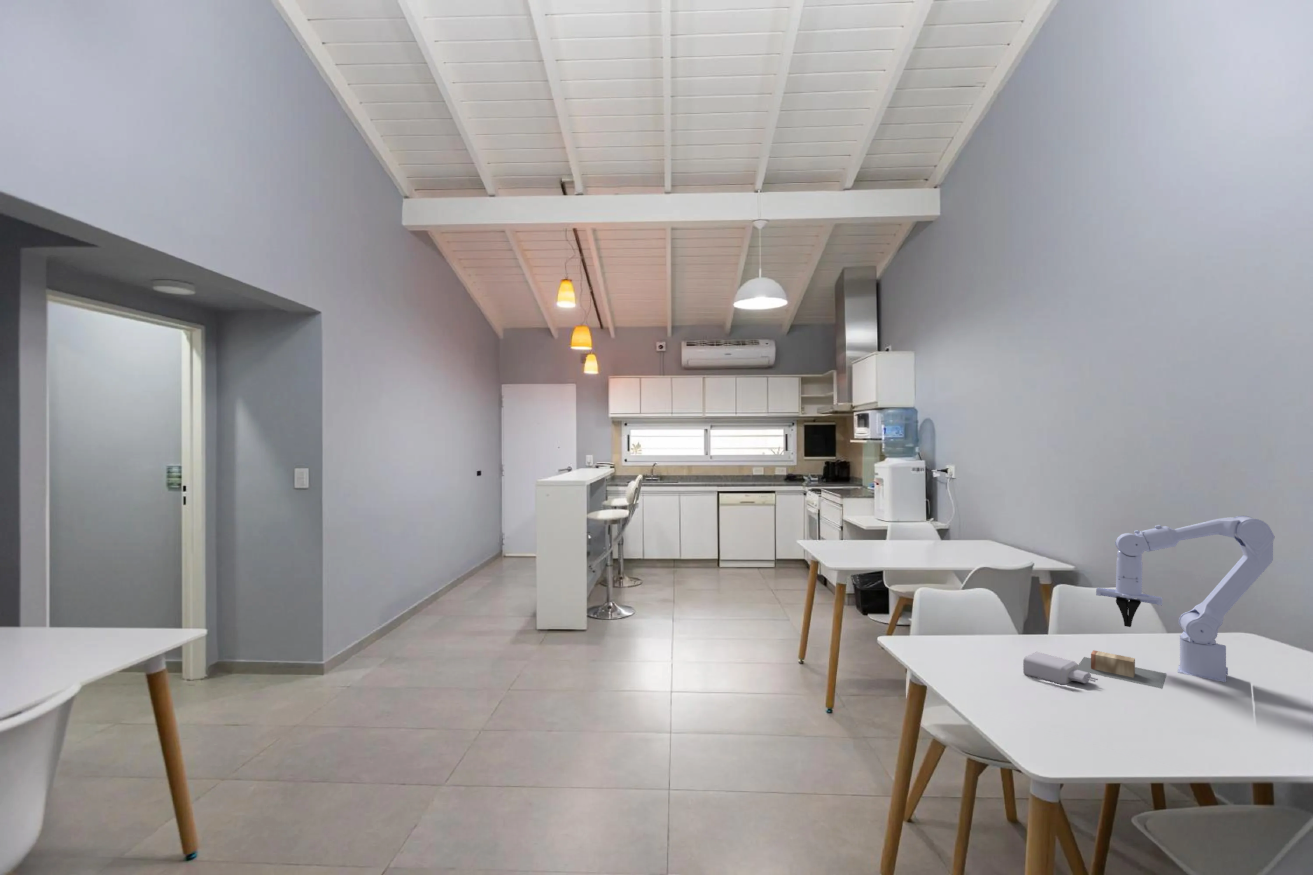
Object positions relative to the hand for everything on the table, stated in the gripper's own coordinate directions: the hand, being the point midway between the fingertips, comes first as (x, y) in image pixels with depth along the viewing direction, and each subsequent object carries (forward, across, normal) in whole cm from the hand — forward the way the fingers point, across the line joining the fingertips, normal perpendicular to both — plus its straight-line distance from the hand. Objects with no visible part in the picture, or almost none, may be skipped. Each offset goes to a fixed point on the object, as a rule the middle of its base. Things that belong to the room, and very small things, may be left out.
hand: (1127, 625), depth 170 cm
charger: (+11, -11, -27) cm, 31 cm away
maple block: (+8, +3, -12) cm, 15 cm away
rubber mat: (+10, 0, -11) cm, 15 cm away
